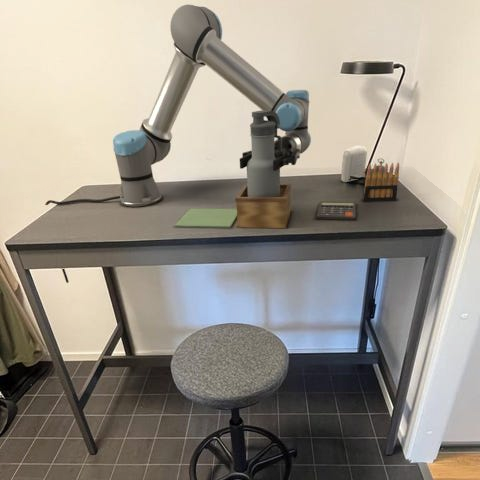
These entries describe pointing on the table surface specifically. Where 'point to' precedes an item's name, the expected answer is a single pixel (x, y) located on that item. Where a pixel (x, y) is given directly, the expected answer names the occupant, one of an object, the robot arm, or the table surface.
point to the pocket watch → (378, 169)
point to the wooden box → (264, 209)
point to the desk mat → (208, 218)
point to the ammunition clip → (381, 184)
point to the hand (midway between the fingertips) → (257, 164)
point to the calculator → (336, 210)
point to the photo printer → (353, 162)
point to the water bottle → (263, 156)
